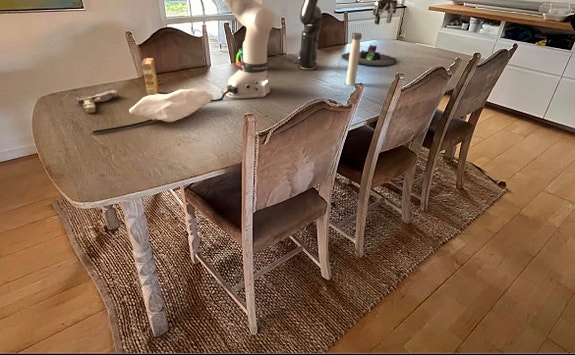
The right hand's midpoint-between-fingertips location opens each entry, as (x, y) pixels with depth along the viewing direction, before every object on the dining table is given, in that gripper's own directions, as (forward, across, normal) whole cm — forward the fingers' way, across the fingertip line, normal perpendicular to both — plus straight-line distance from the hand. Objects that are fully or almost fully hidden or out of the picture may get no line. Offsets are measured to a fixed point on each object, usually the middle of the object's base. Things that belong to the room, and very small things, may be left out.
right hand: (382, 23), depth 180 cm
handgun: (+29, +128, -40) cm, 137 cm away
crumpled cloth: (+29, +107, -14) cm, 111 cm away
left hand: (-19, +32, -15) cm, 40 cm away
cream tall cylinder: (+29, +14, -3) cm, 32 cm away
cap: (+4, +14, -3) cm, 15 cm away
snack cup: (+29, +45, -53) cm, 76 cm away
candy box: (+29, +105, -39) cm, 116 cm away
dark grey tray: (+29, -32, -32) cm, 54 cm away
